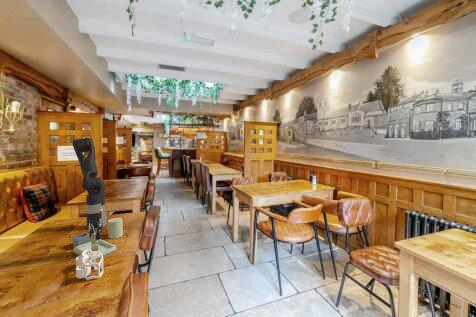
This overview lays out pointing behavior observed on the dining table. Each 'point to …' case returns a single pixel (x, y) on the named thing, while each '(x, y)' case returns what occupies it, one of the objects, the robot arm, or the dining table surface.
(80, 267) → the white wireframe roller cage
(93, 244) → the dowel pin
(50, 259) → the dining table surface
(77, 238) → the deep cup
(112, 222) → the can
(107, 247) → the tray
